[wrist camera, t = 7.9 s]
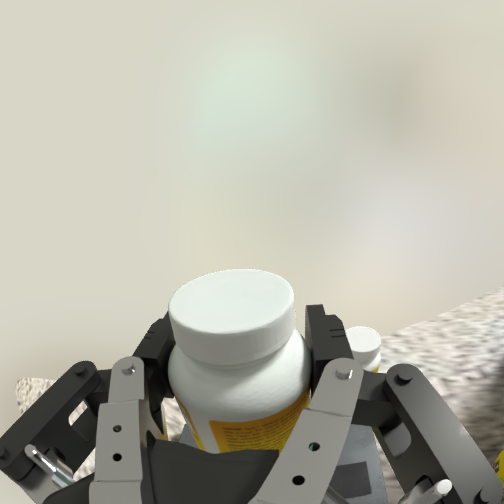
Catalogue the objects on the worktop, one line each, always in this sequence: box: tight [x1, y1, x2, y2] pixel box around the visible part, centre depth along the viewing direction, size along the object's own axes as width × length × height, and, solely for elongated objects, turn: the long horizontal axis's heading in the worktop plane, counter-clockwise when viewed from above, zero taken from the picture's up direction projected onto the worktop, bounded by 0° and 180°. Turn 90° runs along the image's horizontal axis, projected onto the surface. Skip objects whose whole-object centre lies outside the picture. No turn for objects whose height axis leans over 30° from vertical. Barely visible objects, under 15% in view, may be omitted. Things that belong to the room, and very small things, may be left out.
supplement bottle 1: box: [168, 269, 312, 456], centre depth 10 cm, size 5×5×10 cm
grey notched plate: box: [179, 424, 388, 504], centre depth 17 cm, size 18×10×2 cm, turn 86°
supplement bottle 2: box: [345, 326, 381, 373], centre depth 24 cm, size 5×5×8 cm
